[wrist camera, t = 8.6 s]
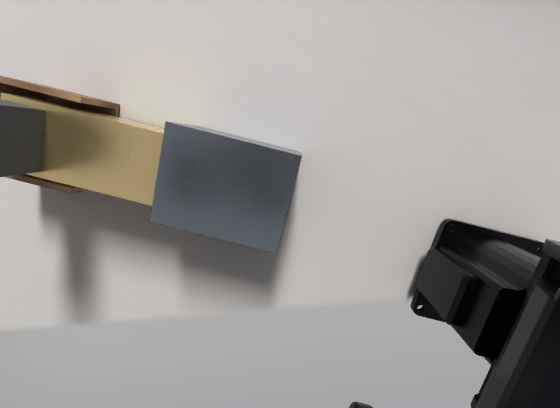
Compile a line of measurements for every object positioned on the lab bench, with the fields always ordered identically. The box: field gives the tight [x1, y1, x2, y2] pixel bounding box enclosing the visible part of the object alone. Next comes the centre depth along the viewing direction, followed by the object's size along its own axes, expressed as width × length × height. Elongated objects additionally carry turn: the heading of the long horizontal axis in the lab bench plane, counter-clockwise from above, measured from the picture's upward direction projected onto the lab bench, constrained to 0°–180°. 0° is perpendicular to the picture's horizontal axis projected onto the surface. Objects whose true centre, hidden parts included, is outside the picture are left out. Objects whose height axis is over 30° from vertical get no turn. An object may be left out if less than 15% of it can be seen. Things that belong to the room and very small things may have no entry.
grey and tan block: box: [0, 93, 164, 206], centre depth 14 cm, size 9×4×10 cm, turn 76°
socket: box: [0, 76, 120, 194], centre depth 17 cm, size 5×5×3 cm
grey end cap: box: [150, 122, 302, 253], centre depth 17 cm, size 6×5×5 cm
